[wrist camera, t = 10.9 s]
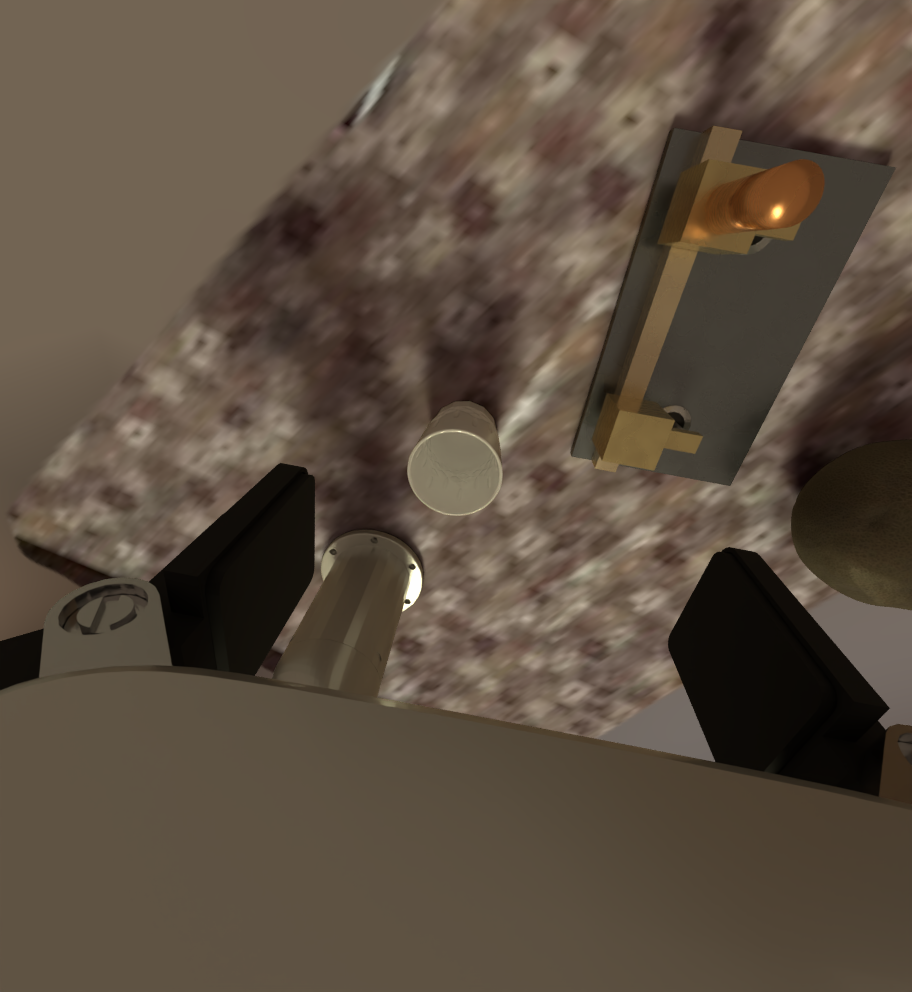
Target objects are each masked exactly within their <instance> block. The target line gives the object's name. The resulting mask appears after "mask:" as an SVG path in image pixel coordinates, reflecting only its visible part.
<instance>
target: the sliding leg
mask: <svg viewBox="0 0 912 992" xmlns="http://www.w3.org/2000/svg"><path fill="white" fill-rule="evenodd" d="M824 185H825V180H824V174H823V171H822V169H821V168H820V167H819V165H818V164H816V163H815V162H813V161H811V160H806V159H799V160H795V161H792V162H789V163H786V164H783V165H780V166H777V167H774V168H771V169H762V168H757V167H751V166H746V165H740V164H734V163H729V162H723V161H718V160H712V159H708V160H706V161H704V162H702V163H700V164H698V165H696V166H694V167H691V168H689V169H687V170H685V171H683V172H681V173H680V176H679V179H678V182H677V185H676V188H675V191H674V194H673V197H672V200H671V203H670V206H669V209H668V212H667V215H666V218H665V221H664V225H663V228H662V231H661V234H660V237H659V240H658V243H657V244H661V245H666V246H672V247H677V248H683V249H688V250H694V251H699V252H705V253H710V254H747V253H748V251H749V248H750V246H751V243H752V241H753V239H754V236H760V237H765V238H771V239H776V240H782V241H793V239H794V237H795V235H796V233H797V231H798V229H799V226H800V224H801V222H802V221H803V220H805V219H806V218H807V217H808V216H809V215H810V214H811V213H812V212H813V211H814V210H815V208H816V207H817V205H818V204H819V202H820V200H821V197H822V195H823V191H824Z"/></svg>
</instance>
